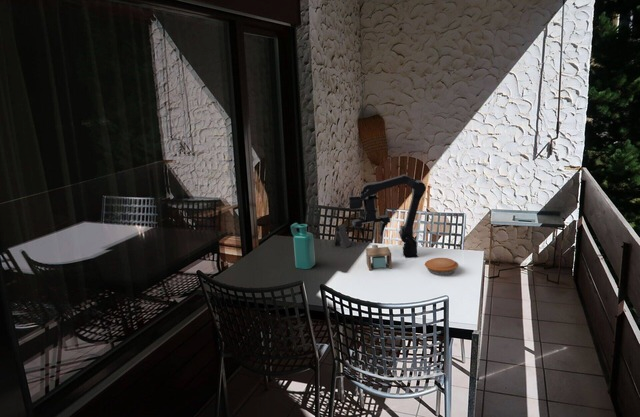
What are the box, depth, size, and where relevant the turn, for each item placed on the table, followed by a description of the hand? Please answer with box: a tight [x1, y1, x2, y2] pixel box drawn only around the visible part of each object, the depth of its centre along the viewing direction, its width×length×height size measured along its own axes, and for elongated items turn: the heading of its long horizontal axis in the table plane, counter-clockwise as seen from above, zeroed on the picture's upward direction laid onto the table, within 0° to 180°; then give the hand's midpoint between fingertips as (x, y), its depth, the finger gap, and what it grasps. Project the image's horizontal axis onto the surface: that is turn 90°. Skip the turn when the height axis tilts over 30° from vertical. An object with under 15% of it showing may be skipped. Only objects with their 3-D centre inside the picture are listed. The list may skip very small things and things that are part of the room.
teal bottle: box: [289, 222, 316, 270], centre depth 260 cm, size 10×8×22 cm
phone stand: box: [331, 223, 352, 249], centre depth 289 cm, size 9×6×12 cm, turn 55°
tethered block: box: [371, 244, 387, 269], centre depth 261 cm, size 6×18×6 cm, turn 1°
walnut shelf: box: [365, 246, 393, 271], centre depth 255 cm, size 11×10×8 cm
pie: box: [424, 257, 459, 276], centre depth 244 cm, size 16×16×5 cm
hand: (372, 237), depth 266 cm, fingers open, 9 cm apart
